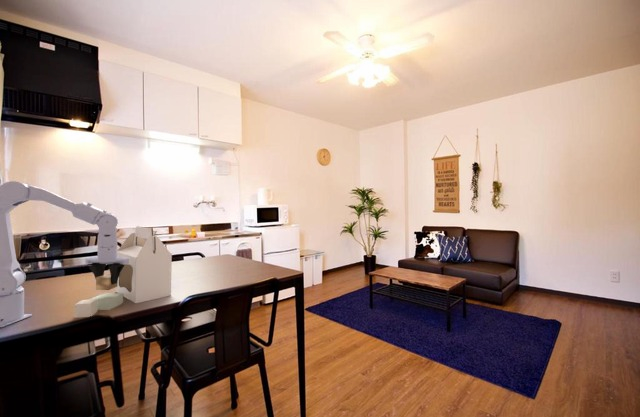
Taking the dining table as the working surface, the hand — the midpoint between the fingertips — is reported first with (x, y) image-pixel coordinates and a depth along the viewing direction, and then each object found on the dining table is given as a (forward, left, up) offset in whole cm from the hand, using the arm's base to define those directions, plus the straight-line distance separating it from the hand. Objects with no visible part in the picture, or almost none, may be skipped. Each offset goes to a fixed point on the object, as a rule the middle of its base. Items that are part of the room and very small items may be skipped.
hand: (107, 283), depth 104 cm
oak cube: (0, 0, -2) cm, 2 cm away
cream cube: (-8, +1, -8) cm, 12 cm away
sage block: (0, 0, -9) cm, 9 cm away
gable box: (+15, -4, -9) cm, 18 cm away
